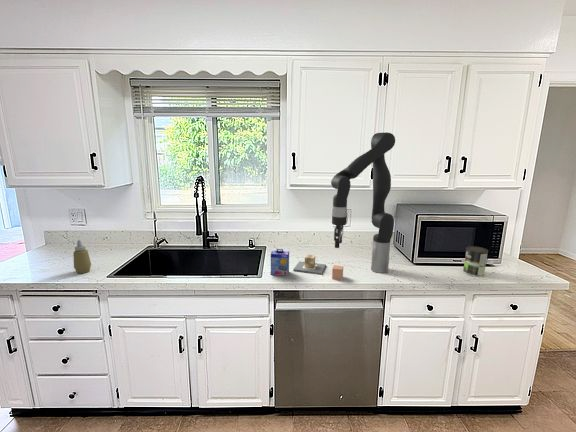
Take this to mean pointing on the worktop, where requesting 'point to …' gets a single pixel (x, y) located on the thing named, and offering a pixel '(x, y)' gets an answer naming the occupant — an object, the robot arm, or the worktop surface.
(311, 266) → the maple block
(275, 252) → the ink cartridge box
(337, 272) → the terracotta block
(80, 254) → the squeeze bottle
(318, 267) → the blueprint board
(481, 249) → the coffee can
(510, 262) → the worktop surface
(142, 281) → the worktop surface
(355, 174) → the robot arm
